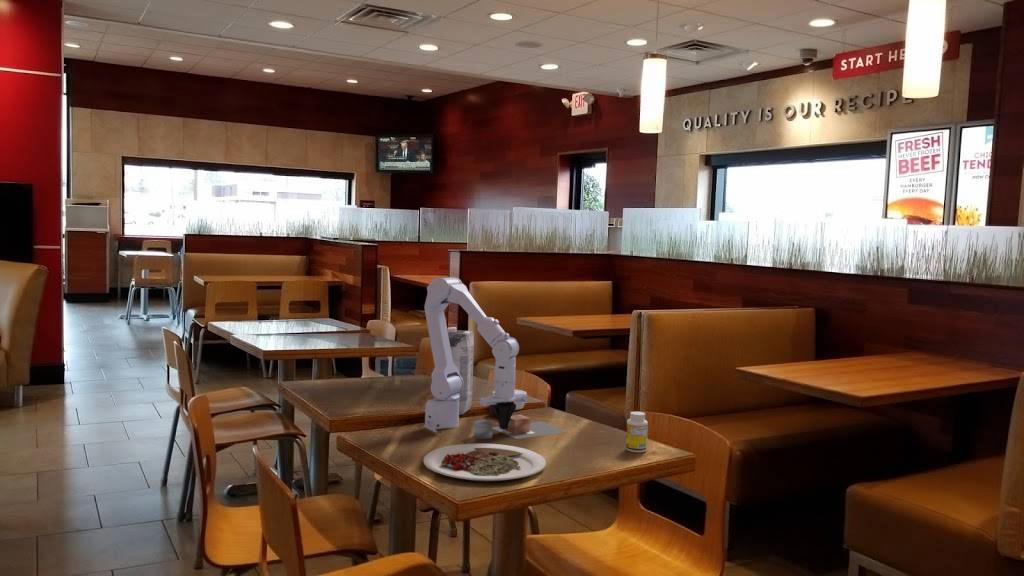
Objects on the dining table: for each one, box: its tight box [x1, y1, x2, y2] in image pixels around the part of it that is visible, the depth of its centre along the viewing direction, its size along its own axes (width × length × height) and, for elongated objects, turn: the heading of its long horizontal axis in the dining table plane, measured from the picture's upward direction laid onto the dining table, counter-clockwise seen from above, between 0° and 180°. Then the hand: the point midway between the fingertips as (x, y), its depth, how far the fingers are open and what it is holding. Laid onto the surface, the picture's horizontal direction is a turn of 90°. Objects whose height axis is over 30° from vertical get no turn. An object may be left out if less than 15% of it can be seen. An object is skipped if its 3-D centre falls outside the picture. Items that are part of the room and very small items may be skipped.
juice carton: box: [447, 326, 475, 416], centre depth 250 cm, size 9×10×27 cm
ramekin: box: [492, 388, 528, 411], centre depth 259 cm, size 11×11×5 cm
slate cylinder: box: [473, 420, 494, 440], centre depth 217 cm, size 5×5×5 cm
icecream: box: [488, 405, 497, 417], centre depth 243 cm, size 7×7×15 cm
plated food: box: [422, 442, 547, 482], centre depth 193 cm, size 30×30×3 cm
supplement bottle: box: [625, 411, 649, 454], centre depth 212 cm, size 6×6×10 cm
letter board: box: [492, 421, 569, 440], centre depth 227 cm, size 18×14×1 cm
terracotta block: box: [506, 414, 531, 434], centre depth 224 cm, size 5×5×4 cm
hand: (503, 428), depth 222 cm, fingers closed
